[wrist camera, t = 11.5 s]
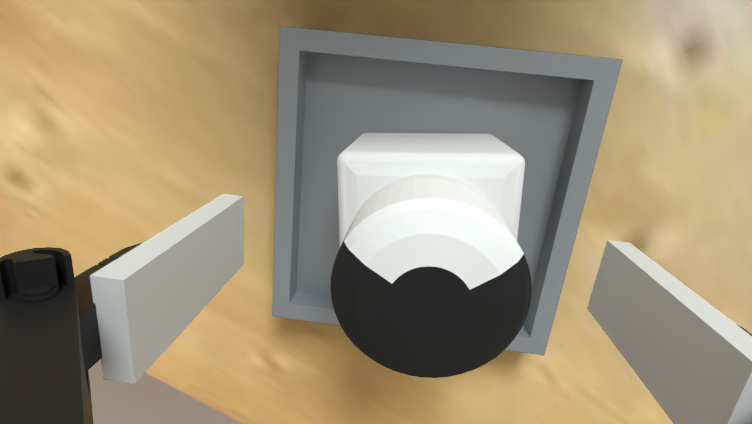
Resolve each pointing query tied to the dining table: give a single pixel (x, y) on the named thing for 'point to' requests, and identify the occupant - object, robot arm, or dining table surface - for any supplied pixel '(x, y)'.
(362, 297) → the medicine bottle
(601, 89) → the tray
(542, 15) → the dining table surface
